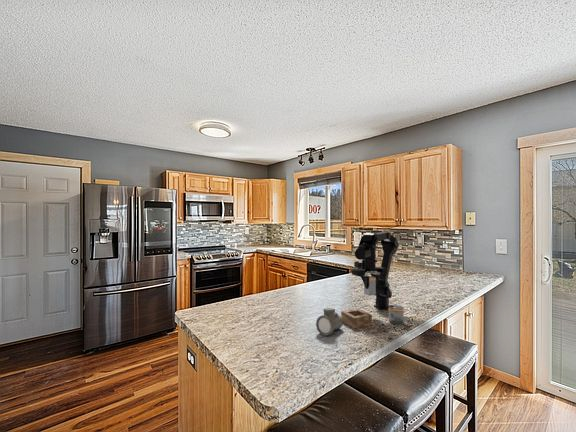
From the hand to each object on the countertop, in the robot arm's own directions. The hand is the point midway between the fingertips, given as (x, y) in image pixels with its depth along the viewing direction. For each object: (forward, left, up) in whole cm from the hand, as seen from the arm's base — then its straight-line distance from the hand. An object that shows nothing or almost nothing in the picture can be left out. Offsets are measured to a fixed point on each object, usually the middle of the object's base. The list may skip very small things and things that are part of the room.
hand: (369, 288), depth 141 cm
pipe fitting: (+30, +10, -14) cm, 34 cm away
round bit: (-4, +13, -13) cm, 19 cm away
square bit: (0, 0, -3) cm, 3 cm away
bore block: (+14, +7, -13) cm, 20 cm away
